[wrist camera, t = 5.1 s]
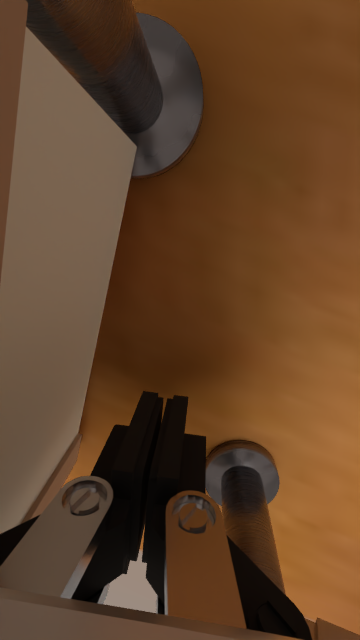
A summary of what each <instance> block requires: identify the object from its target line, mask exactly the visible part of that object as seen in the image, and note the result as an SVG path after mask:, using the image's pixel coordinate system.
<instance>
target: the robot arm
mask: <svg viewBox="0 0 360 640" xmlns="http://www.w3.org/2000/svg"><path fill="white" fill-rule="evenodd" d="M187 405H188V397H185V396H177V395H174V397H173V399H169V398H168V399H167V403H166V407H165V411H164V415H163V419H162V409H163V398H162V397H158V393H154V392H146V391H143V393H142V395H141V398H140V400H139V403H138V405H137V408H136V410H135V413H134V415H133V418H132V420H131V423H130V425H129V426H125V425H117V424H116V425H115V426H114V427H113V429H112V431H111V433H110V435H109V437H108V440H107V442H106V444H105V446H104V448H103V450H102V452H101V454H100V456H99V458H98V460H97V463H96V465H95V467H94V469H93V471H92V473H91V475H90V476H83V477H79V478H76V479H73V480H72V481H70V482H68V483H66V484H65V485H64V486H63V487H62V488H61V489H60V490H59V492H58V493H57V494H56V496H55V497H54V498H53V499H52V501H51V502H50V503H49V505H48V506H47V507H46V508H45V510H44V511H43V512H42V514H40V515H38V516H36V517H34V518H32V519H30V520H28V521H26V522H24V523H22V524H20V525H18V526H16V527H13V528H11V529H9V530H7V531H5V532H3V533H1V534H0V640H360V635H358V634H356V633H353V632H351V631H348V630H346V629H344V628H341V627H339V626H336V625H334V624H332V623H329V622H327V621H324V620H322V619H320V618H317V620H316V623H315V622H312V621H310V620H308V619H305V618H304V616H303V614H302V613H301V612H300V611H299V609H298V608H297V607H296V606H295V604H294V603H293V602H292V601H291V600H290V599H289V598H288V597H287V596H286V595H285V594H284V593H283V592H282V591H281V590H280V589H279V588H278V587H277V586H276V585H275V584H274V583H273V582H272V581H271V580H270V579H269V578H268V577H267V576H266V575H265V574H264V573H263V572H262V571H261V570H260V569H259V568H258V567H257V566H256V565H255V564H254V563H253V561H252V560H251V559H250V558H249V557H248V556H247V555H246V554H245V553H244V552H243V551H242V550H241V549H240V548H239V547H238V546H237V545H236V544H235V543H234V542H233V541H232V540H231V539H230V538H229V537H228V536H227V535H226V531H225V526H224V522H223V517H222V513H221V511H220V508H219V506H218V505H217V503H216V502H215V501H214V500H213V499H212V498H211V497H209V496H208V495H206V494H205V484H206V436H199V435H191V434H184V432H185V423H186V414H187ZM161 421H162V423H161ZM144 525H145V531H144V543H143V555H142V562H144V563H147V570H146V579H147V580H148V582H149V583H150V585H151V586H152V588H153V589H154V591H155V592H156V594H157V600H156V613H150V612H145V611H139V610H133V609H127V608H121V607H115V606H109V605H104V604H103V603H104V601H105V599H106V596H107V593H108V590H109V583H110V582H111V581H113V580H114V579H116V578H117V577H118V576H120V575H121V574H127V570H128V566H129V562H130V560H132V561H137V557H138V553H139V549H140V544H141V539H142V535H143V530H144Z"/></svg>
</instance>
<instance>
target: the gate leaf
mask: <svg viewBox="0 0 360 640" xmlns="http://www.w3.org/2000/svg"><path fill="white" fill-rule="evenodd" d="M27 10H28V3H27V1H26V0H0V534H1V533H3V532H5V531H7V530H9V529H11V528H13V527H16V526H18V525H20V524H22V523H24V522H26V521H28V520H30V519H32V518H34V517H36V516H38V515H40V514H42V512H43V511H44V510H45V508H46V507H47V506H48V505H49V503H50V502H51V501H52V499H53V498H54V497H55V496H56V494H57V493H58V492H59V490H60V489H61V487H62V486H63V484H64V482H65V480H66V479H67V477H68V475H69V473H70V472H71V470H72V468H73V466H74V465H75V463H76V461H77V457H78V452H79V447H80V442H81V438H82V434H79V433H78V432H79V427H80V422H81V417H82V412H83V407H84V402H85V397H86V393H87V388H88V383H89V378H90V373H91V368H92V363H93V358H94V354H95V349H96V344H97V339H98V334H99V329H100V324H101V319H102V315H103V310H104V305H105V300H106V295H107V290H108V285H109V280H110V276H111V271H112V266H113V261H114V256H115V251H116V246H117V241H118V237H119V232H120V227H121V222H122V217H123V212H124V207H125V202H126V198H127V193H128V188H129V183H130V178H131V173H132V168H133V164H134V159H135V154H136V149H137V146H136V145H135V144H134V143H133V142H132V141H131V140H130V139H129V137H128V136H127V135H126V134H125V133H124V132H123V131H122V130H121V129H120V128H119V127H118V126H117V124H116V123H115V122H114V121H113V120H112V119H111V118H110V117H109V116H108V115H107V114H106V113H105V111H104V110H103V109H102V108H101V107H100V106H99V105H98V104H97V103H96V102H95V101H94V99H93V98H92V97H91V96H90V95H89V94H88V93H87V92H86V91H85V90H84V89H83V88H82V86H81V85H80V84H79V83H78V82H77V81H76V80H75V79H74V78H73V77H72V76H71V74H70V73H69V72H68V71H67V70H66V69H65V68H64V67H63V66H62V65H61V64H60V63H59V61H58V60H57V59H56V58H55V57H54V56H53V55H52V54H51V53H50V52H49V51H48V49H47V48H46V47H45V46H44V45H43V44H42V43H41V42H40V41H39V40H38V39H37V38H36V36H35V35H34V34H33V33H32V32H31V31H30V30H29V29H28V28H27V27H26V20H27Z"/></svg>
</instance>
